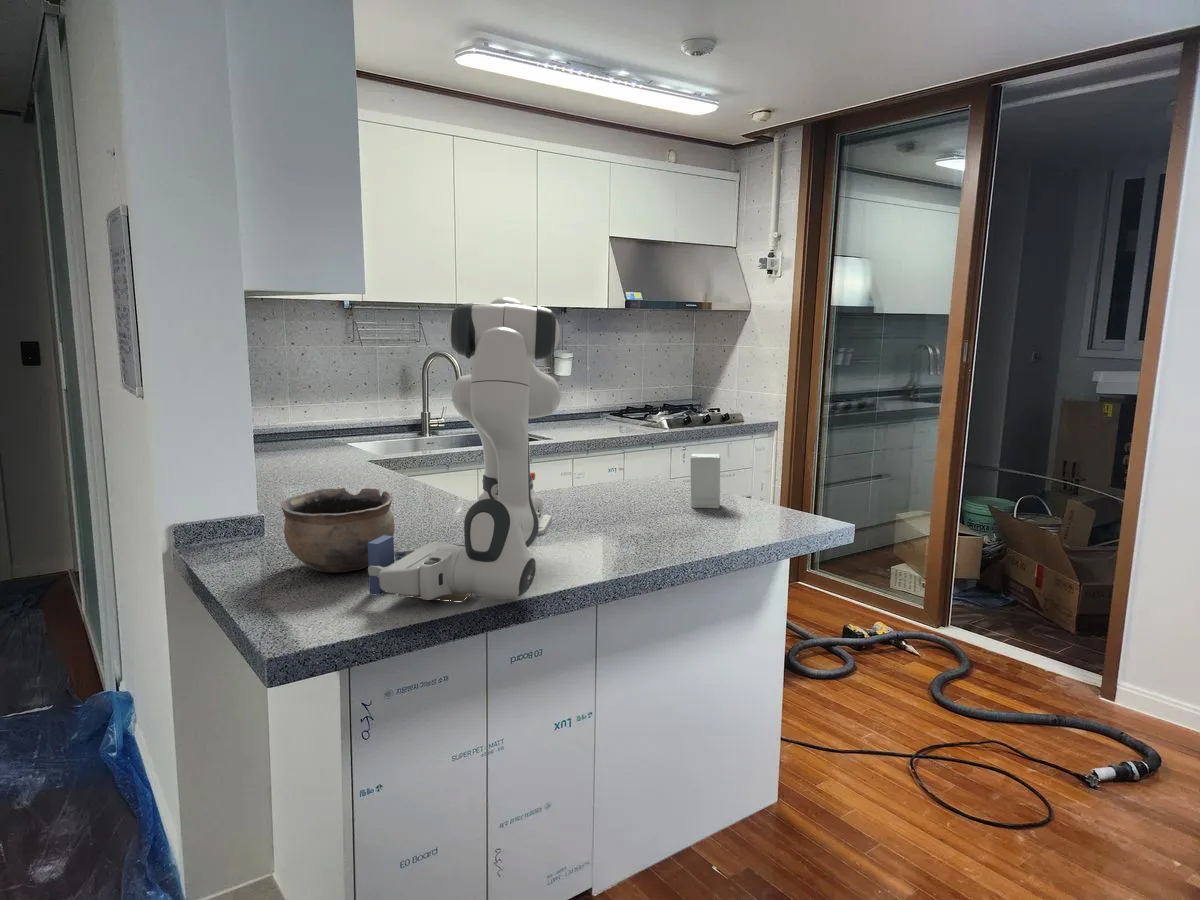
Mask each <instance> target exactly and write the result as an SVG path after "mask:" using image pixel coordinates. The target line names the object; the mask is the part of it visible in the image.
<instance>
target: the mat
mask: <svg viewBox="0 0 1200 900" xmlns="http://www.w3.org/2000/svg"><path fill="white" fill-rule="evenodd" d="M470 594H472V593H469V594H454V593H453V594H450V595H443V596H439V597H436V598H434V599H440V600H439V601H442V600H449V601H448V602H450V600H451V601H462V600H464V599H465V598H466V597H468V596H469V595H470ZM399 595H401V594H397V596H399ZM472 595H473V594H472ZM407 596H409V595H401V597H407ZM470 596H471V595H470ZM470 596H469V597H470ZM416 597H421V595H416V596H413V597H412V598H416ZM469 597H468V598H469ZM465 600H466V599H465ZM465 600H464V601H465Z"/></svg>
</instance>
